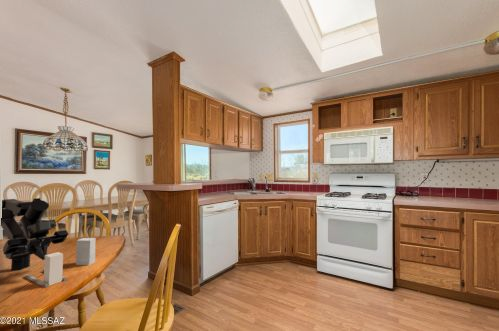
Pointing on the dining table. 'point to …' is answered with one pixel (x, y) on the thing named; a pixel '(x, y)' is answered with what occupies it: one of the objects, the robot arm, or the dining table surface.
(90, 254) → the skincare box
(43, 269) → the track
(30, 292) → the dining table surface
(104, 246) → the dining table surface
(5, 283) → the dining table surface
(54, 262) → the slider block
